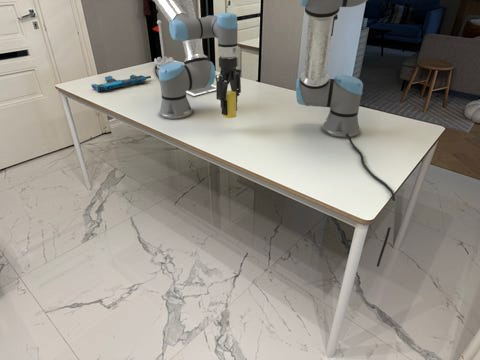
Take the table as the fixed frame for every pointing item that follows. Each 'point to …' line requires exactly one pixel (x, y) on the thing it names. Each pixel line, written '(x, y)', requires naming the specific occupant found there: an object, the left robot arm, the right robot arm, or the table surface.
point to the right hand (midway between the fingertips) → (323, 33)
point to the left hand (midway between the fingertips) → (229, 112)
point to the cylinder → (231, 104)
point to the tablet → (201, 90)
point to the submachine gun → (119, 82)
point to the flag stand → (164, 60)
